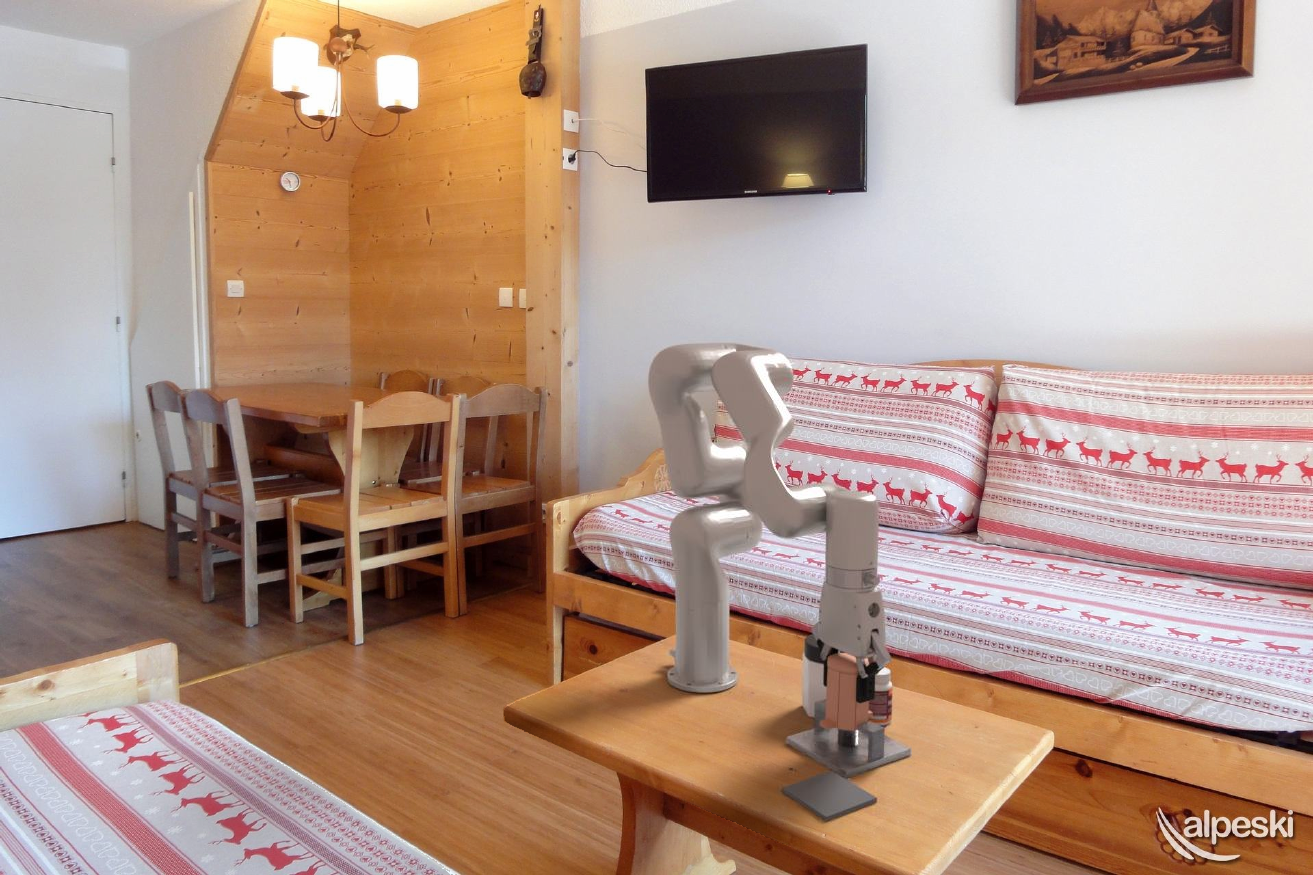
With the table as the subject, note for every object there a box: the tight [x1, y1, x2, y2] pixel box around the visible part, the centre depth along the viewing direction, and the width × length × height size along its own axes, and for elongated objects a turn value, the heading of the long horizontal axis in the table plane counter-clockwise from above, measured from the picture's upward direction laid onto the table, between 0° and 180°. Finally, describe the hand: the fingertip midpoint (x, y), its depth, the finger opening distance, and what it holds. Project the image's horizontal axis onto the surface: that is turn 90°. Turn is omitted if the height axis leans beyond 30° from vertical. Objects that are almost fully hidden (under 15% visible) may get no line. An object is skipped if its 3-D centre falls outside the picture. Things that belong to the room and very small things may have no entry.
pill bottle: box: [868, 666, 894, 727], centre depth 151 cm, size 5×5×8 cm
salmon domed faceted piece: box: [820, 653, 873, 731], centre depth 140 cm, size 9×6×10 cm
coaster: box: [781, 770, 878, 822], centre depth 127 cm, size 9×9×1 cm
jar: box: [801, 633, 845, 718], centre depth 154 cm, size 9×8×12 cm
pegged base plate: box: [786, 699, 912, 779], centre depth 141 cm, size 13×13×11 cm
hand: (848, 691), depth 140 cm, fingers closed on salmon domed faceted piece, 6 cm apart
